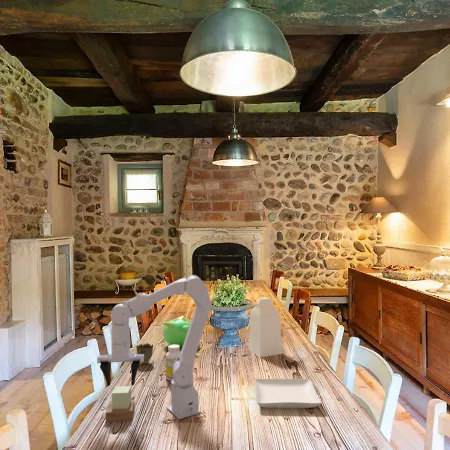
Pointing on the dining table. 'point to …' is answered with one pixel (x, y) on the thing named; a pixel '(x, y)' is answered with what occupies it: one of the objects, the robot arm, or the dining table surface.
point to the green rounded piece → (176, 331)
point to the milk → (265, 329)
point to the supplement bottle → (171, 360)
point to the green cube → (121, 397)
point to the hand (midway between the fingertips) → (121, 384)
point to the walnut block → (120, 413)
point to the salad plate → (286, 393)
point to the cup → (145, 352)
